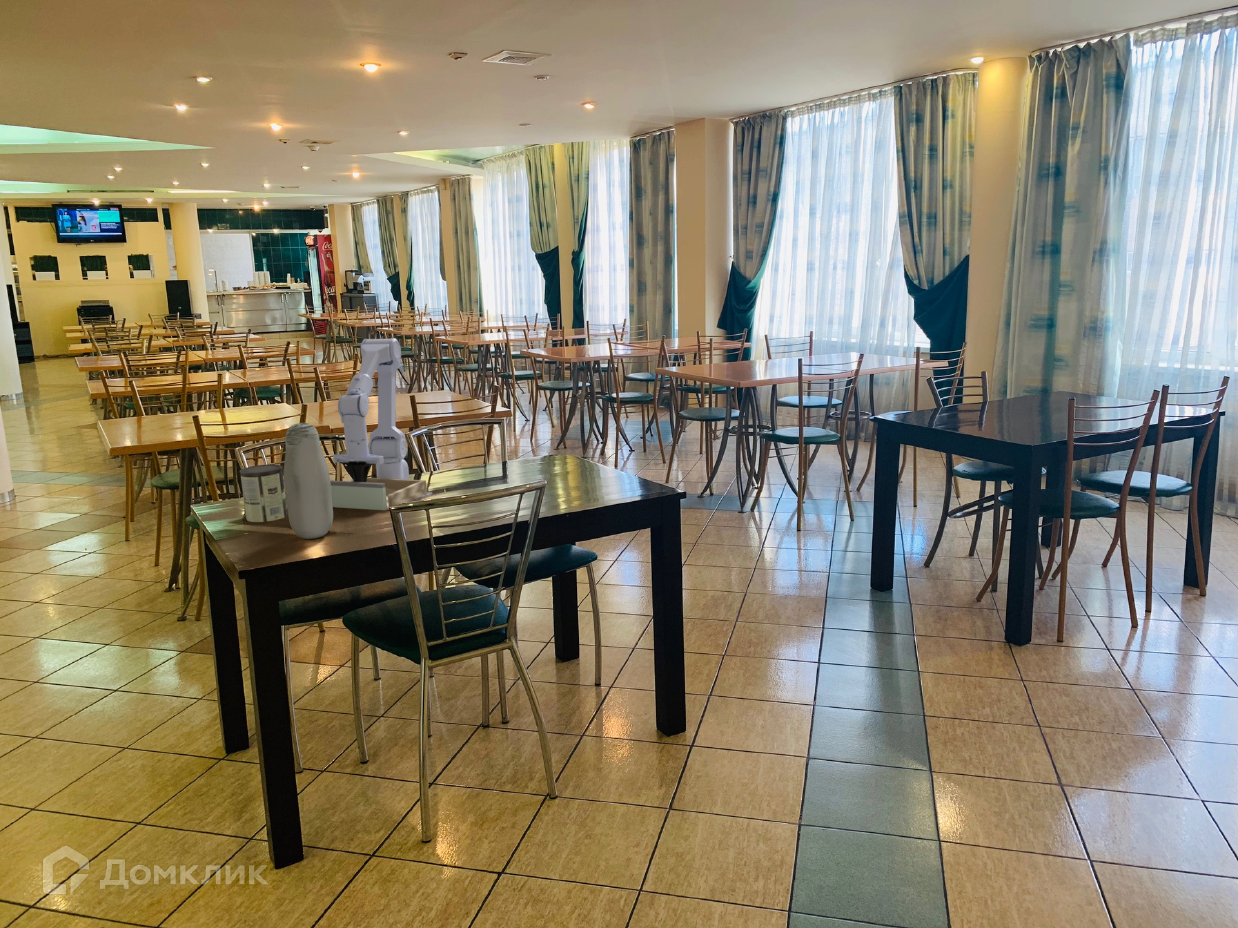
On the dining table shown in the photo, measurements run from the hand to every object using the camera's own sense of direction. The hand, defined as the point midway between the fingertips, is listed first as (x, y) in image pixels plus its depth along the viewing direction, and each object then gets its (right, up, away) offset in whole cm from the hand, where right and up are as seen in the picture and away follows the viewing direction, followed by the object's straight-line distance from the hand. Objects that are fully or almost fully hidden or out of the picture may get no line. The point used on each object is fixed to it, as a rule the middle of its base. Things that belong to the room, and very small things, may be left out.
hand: (361, 489), depth 240 cm
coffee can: (-22, -8, -8) cm, 25 cm away
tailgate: (-1, -5, -2) cm, 6 cm away
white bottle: (-4, -11, -24) cm, 27 cm away
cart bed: (+2, -4, +6) cm, 8 cm away
